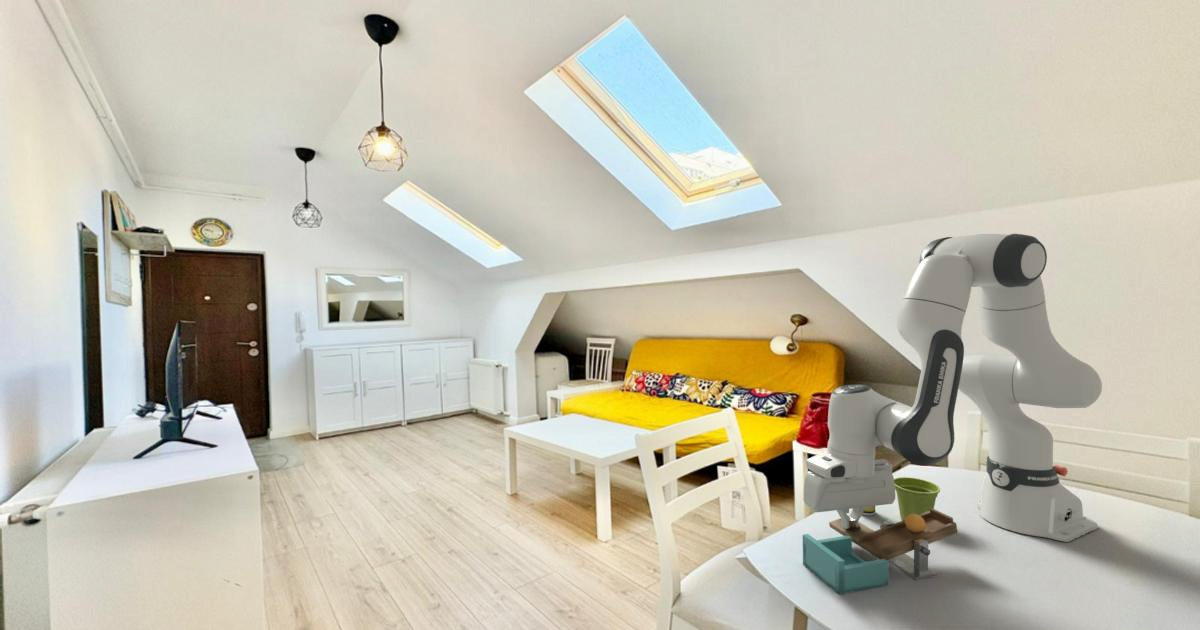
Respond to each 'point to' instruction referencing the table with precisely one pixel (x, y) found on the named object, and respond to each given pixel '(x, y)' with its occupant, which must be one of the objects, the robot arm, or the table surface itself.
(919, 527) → the ball
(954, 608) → the table surface
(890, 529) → the lever
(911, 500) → the plant pot
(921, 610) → the table surface
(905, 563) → the fulcrum
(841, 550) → the teal tray
